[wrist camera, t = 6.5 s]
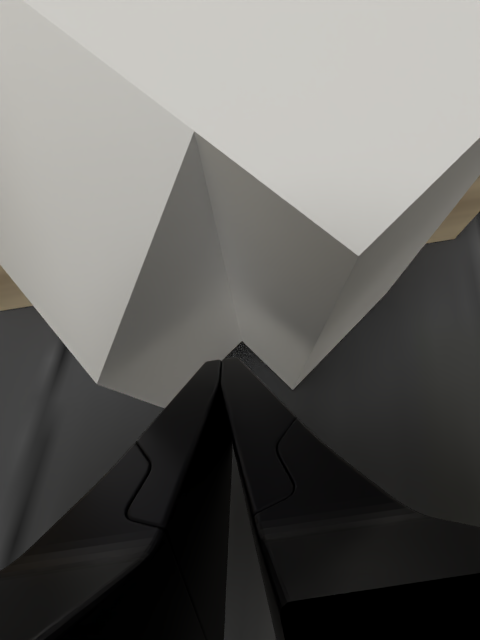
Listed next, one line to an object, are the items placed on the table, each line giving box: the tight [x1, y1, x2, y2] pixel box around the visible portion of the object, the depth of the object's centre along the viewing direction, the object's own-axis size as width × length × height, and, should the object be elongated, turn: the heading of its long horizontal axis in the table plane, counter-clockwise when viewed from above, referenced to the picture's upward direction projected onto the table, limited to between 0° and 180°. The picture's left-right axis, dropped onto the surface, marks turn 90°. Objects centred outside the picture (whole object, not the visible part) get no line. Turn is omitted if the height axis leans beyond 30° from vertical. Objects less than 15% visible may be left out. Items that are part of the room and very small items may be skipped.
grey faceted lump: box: [0, 0, 480, 408], centre depth 12 cm, size 11×11×12 cm
